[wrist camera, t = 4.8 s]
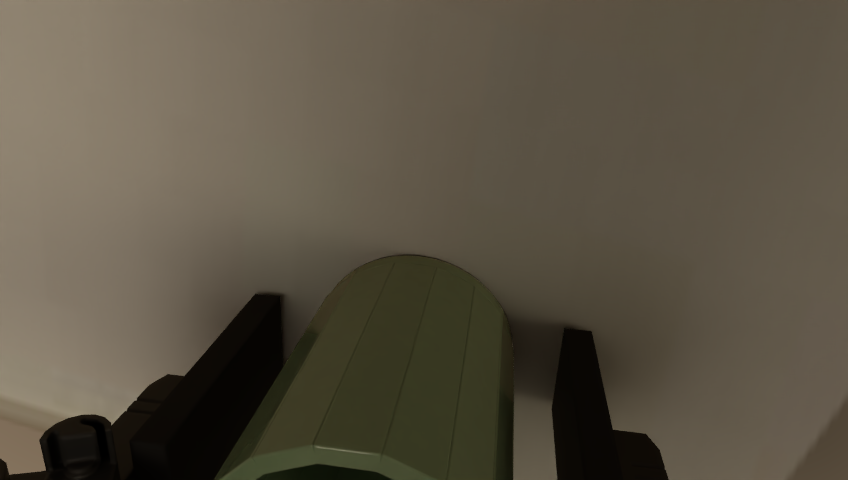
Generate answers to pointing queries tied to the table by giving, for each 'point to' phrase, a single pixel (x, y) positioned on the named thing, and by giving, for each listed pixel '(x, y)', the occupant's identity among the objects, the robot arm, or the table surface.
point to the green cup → (390, 384)
